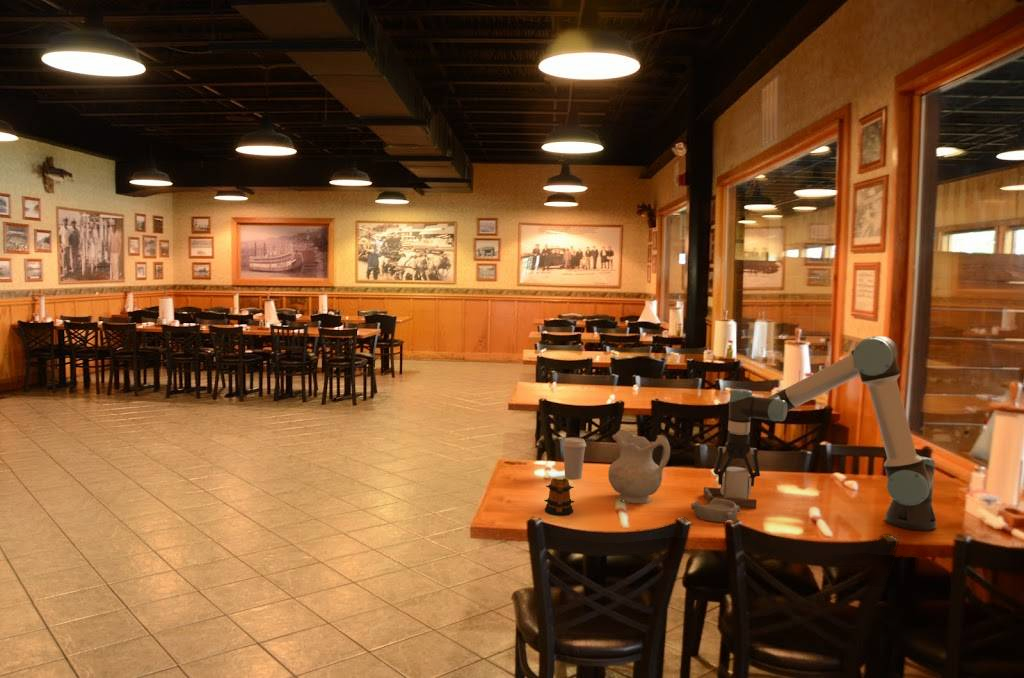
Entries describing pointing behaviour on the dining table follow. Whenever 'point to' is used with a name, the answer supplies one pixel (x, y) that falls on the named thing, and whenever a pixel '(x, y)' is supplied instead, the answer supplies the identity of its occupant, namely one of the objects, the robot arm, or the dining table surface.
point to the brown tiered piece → (559, 498)
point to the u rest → (739, 502)
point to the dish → (716, 510)
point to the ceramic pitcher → (637, 467)
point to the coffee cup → (573, 457)
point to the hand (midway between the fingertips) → (735, 494)
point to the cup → (736, 482)
